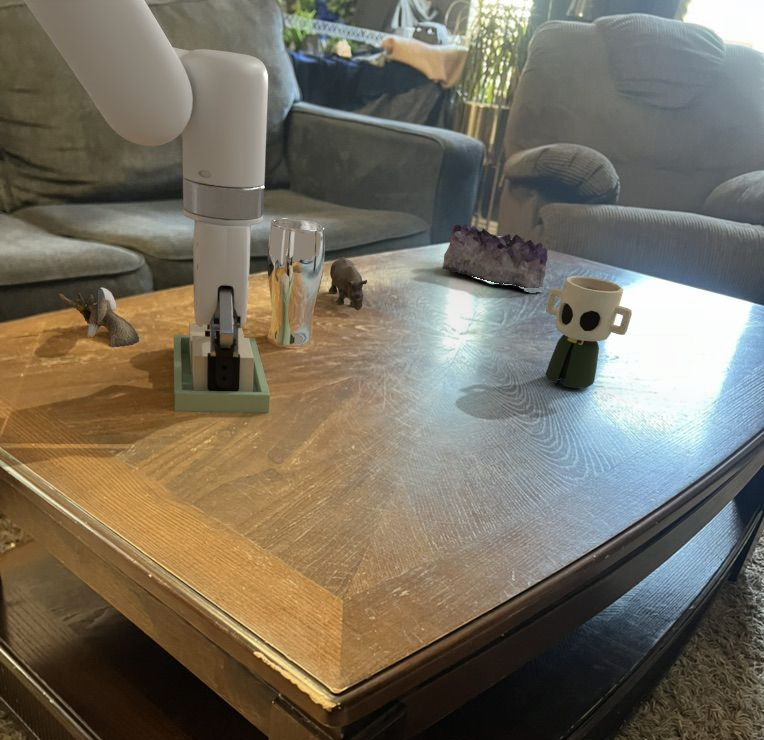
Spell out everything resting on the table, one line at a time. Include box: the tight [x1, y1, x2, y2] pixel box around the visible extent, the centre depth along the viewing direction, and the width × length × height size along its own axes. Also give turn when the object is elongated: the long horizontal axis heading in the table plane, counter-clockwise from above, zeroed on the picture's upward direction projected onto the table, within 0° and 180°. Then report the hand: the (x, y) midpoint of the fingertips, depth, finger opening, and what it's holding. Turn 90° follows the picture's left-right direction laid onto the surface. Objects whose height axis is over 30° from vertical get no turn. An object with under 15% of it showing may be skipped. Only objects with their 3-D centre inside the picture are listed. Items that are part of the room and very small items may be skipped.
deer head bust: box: [58, 287, 140, 348], centre depth 94 cm, size 8×7×9 cm
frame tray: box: [173, 334, 271, 414], centre depth 87 cm, size 17×10×2 cm, turn 13°
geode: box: [442, 223, 549, 288], centre depth 141 cm, size 20×12×10 cm, turn 62°
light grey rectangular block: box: [192, 336, 254, 392], centre depth 82 cm, size 6×6×4 cm
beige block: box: [188, 322, 245, 374], centre depth 90 cm, size 6×6×4 cm
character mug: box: [545, 275, 633, 389], centre depth 98 cm, size 11×7×13 cm, turn 55°
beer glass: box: [266, 217, 326, 350], centre depth 98 cm, size 7×7×15 cm
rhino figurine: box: [328, 256, 368, 311], centre depth 118 cm, size 4×14×6 cm, turn 16°
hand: (221, 376), depth 83 cm, fingers closed on light grey rectangular block, 5 cm apart
